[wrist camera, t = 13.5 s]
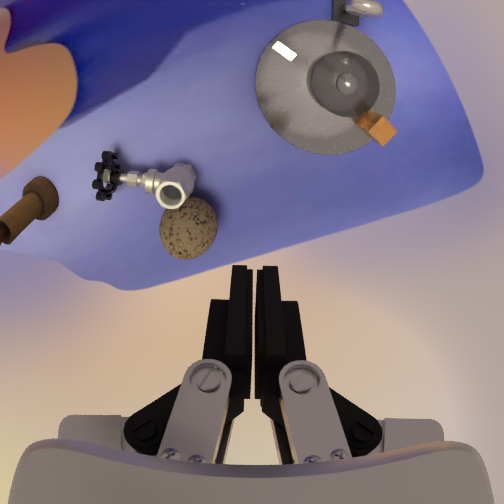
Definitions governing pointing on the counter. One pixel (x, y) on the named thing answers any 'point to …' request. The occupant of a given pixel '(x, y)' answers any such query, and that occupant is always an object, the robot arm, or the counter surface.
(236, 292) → the robot arm
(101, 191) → the valve
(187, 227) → the decorative egg
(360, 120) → the turntable
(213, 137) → the counter surface
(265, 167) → the counter surface
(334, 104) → the cover
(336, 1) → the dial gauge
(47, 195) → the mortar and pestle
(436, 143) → the counter surface
